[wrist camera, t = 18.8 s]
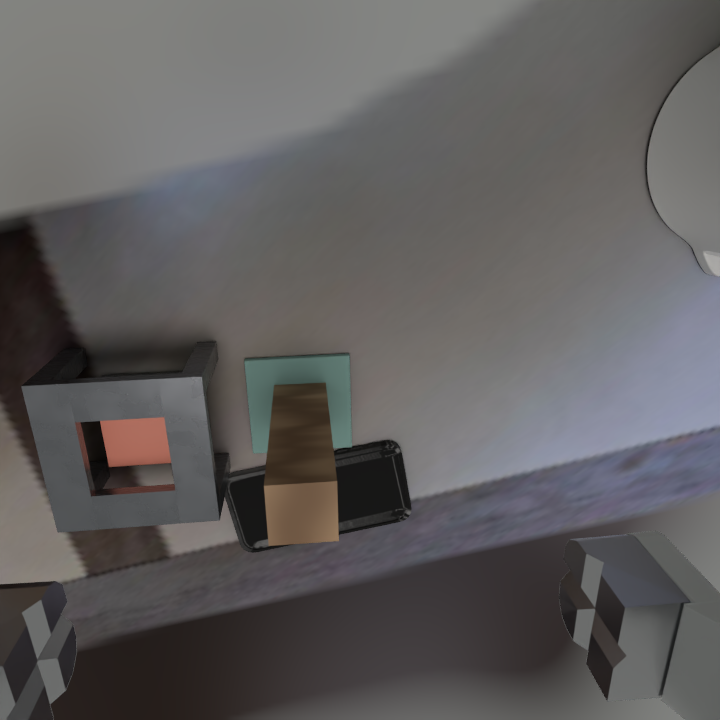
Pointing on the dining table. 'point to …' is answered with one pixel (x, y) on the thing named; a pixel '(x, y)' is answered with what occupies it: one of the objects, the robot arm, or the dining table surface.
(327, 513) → the peg
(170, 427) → the frame
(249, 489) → the phone
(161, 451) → the salmon pink panel
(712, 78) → the robot arm
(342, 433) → the mat
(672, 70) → the dining table surface
